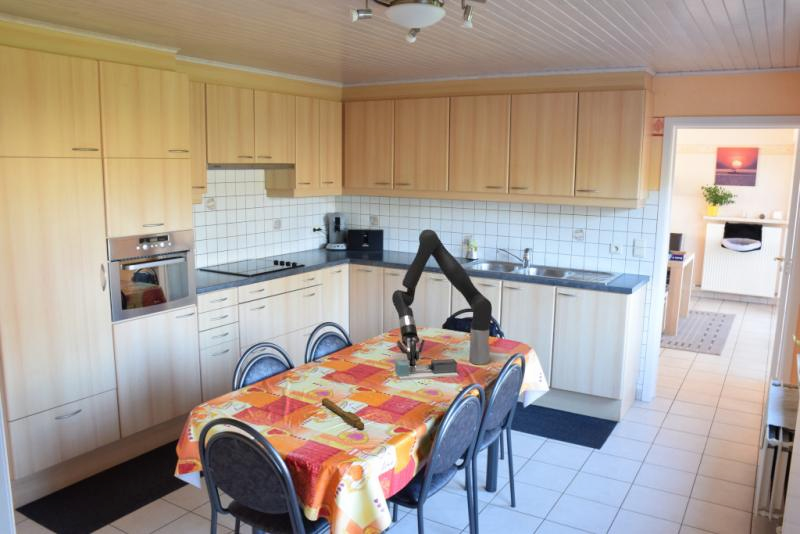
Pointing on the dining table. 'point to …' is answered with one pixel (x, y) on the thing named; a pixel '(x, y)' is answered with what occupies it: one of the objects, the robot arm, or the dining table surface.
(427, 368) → the slip tube
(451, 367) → the outer sleeve
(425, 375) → the base board
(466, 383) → the dining table surface
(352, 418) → the brown wooden stick
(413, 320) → the robot arm
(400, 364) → the socket block
